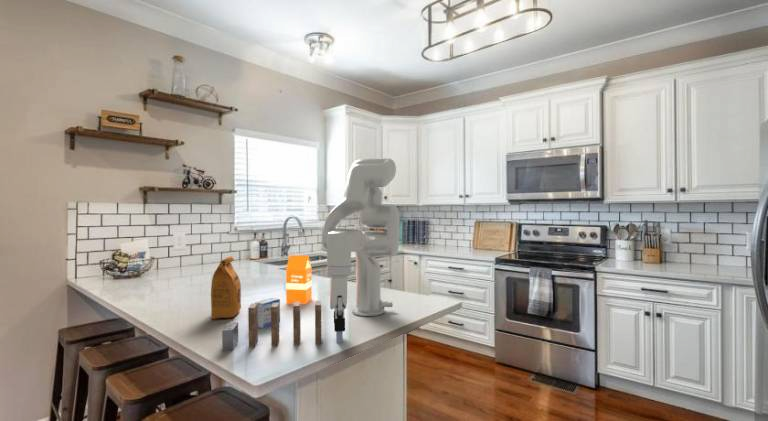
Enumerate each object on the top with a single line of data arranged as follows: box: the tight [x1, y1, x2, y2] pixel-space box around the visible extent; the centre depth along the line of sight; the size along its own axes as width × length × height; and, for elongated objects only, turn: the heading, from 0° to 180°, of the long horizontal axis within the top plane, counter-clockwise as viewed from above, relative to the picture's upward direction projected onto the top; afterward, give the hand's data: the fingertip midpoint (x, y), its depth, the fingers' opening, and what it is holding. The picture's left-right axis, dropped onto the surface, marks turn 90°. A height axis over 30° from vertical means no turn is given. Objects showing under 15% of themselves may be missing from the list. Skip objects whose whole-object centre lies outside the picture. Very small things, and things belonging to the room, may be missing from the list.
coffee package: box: [210, 255, 242, 320], centre depth 148 cm, size 10×12×22 cm
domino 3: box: [292, 302, 302, 346], centre depth 119 cm, size 2×5×12 cm, turn 9°
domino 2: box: [270, 302, 280, 348], centre depth 118 cm, size 2×5×12 cm, turn 9°
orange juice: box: [285, 254, 313, 305], centre depth 168 cm, size 8×9×20 cm
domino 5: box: [335, 300, 344, 344], centre depth 121 cm, size 2×5×12 cm, turn 9°
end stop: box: [221, 321, 239, 352], centre depth 116 cm, size 3×7×6 cm, turn 9°
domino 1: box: [247, 302, 259, 349], centre depth 117 cm, size 2×5×12 cm, turn 9°
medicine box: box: [254, 297, 281, 330], centre depth 136 cm, size 8×4×9 cm, turn 148°
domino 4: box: [314, 300, 322, 345], centre depth 120 cm, size 2×5×12 cm, turn 9°
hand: (339, 326), depth 121 cm, fingers open, 6 cm apart
